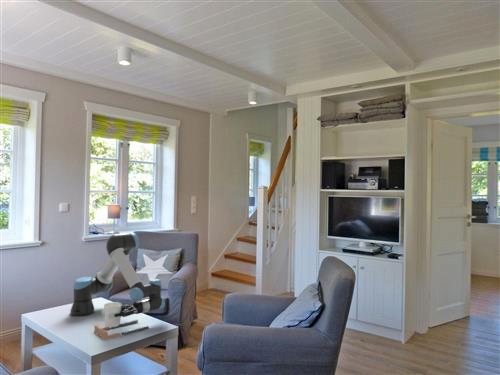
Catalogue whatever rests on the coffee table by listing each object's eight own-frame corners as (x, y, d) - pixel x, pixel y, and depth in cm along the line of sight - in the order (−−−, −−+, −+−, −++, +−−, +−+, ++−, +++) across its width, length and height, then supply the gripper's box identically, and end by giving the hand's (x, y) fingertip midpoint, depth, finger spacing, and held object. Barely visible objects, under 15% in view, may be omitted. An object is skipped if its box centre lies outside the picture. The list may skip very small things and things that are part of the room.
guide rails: (110, 327, 229) (110, 325, 229) (136, 321, 241) (136, 319, 241) (122, 335, 218) (122, 332, 218) (148, 328, 229) (148, 326, 229)
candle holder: (115, 328, 216) (115, 307, 216) (100, 327, 218) (100, 306, 218) (124, 322, 226) (124, 302, 226) (109, 321, 228) (110, 301, 228)
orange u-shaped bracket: (94, 331, 223) (94, 325, 223) (109, 328, 229) (109, 321, 229) (105, 339, 211) (105, 332, 211) (120, 335, 217) (120, 329, 217)
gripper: (149, 317, 226) (112, 325, 211) (132, 308, 242) (97, 315, 227) (149, 304, 226) (113, 312, 211) (133, 297, 242) (98, 303, 227)
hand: (105, 314), depth 219 cm, fingers closed on candle holder, 9 cm apart
